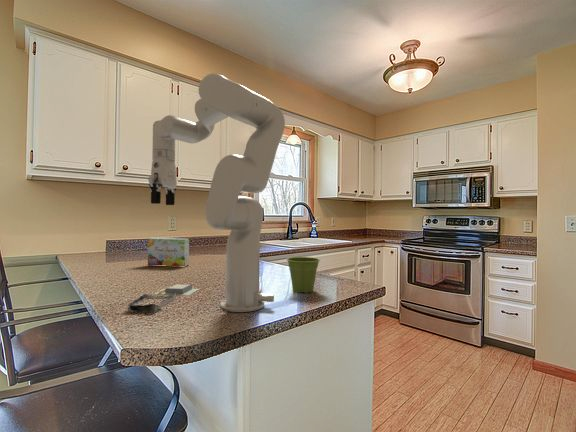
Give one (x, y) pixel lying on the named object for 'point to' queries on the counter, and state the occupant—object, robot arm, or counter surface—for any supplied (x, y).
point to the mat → (176, 294)
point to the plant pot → (303, 273)
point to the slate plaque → (178, 289)
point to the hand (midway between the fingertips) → (163, 204)
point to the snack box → (168, 251)
